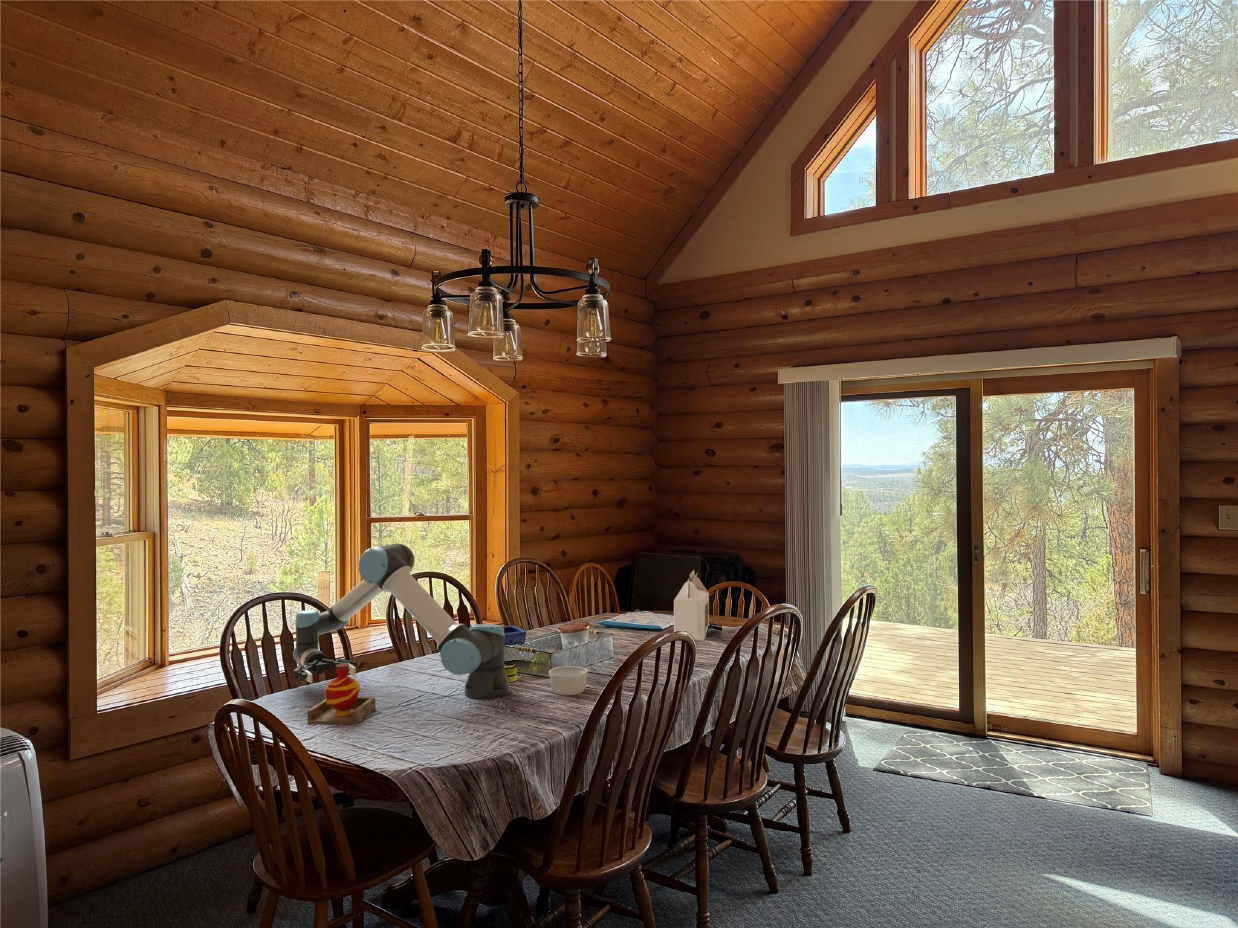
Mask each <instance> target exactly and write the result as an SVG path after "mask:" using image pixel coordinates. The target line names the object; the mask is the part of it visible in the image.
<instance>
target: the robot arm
mask: <svg viewBox="0 0 1238 928" xmlns="http://www.w3.org/2000/svg"><path fill="white" fill-rule="evenodd" d="M414 565H415V555H414V552H413V551H412V550H411V549H410V547H408V546H407V545H405V544H403V543H391V544H386V545H381V546H379V545H378V546H377V545H376V546H373V547H370V548H368V549H365V551H364V552H363V553H362V554H361V556H360V558H359V561H358V573H359V575H360V578H361V579H362V580H361V581H360V582H359V583H358V584H356V585H355V586H354V587H353V588H352V589H351V590H350V591H348V592H347V593H346V594H345V595H344V596H343V597H341V598H340V599H339V600H338V601H337V602H335V603H334V604H333V605H332V606H331V607H329V608H328V609H327V610H325V611H322V612H319V611H318V610H316V609H305V610H300V611H298V612H297V613H296V615H295V625H294V626H295V648H294V649H293V651H292V657H293V659H294V661H295V663H296V664H297V666H296V668H295V669H294V670H293V679H294V680H296V679H298V678H299V680H300V682H303V681H305V680H306V681H307V682H308V683H309V684H313V676H319V675H322V674H324V673H325V672H333V671H334V672H335V671H336V669H337V668H336V665H337V664H344V663H347V664H349V667H348V668H349V669H350V671H349V672H347V674H350V675H351V676H353V677H356V676H357V674H356V673H357V670H358V661H355V660H354V661H353V660H346V659H342V658H339V657H337V658H336V660H334V659H329V657H328V656H327V654H325V653H324V652H322V651H321V650H320V649H319V648H320V636H321V635H324V634H327V633H331V632H334V631H340V630H341V629H343V628H345V627H346V626H347V625H348V623H349V620H350V619H351V618H352V617H354V616H355V615H356V614H357V613H358V612H360V611H361V610H362V609H364V607H366V605H368V604H369V603H370V602H371V601H373V600H374V599H375V598H376V597H377V596H378V595H380V594H381V593H382V592H383V593H390V594H391V595H393V597H394V598H395V599H396V600H397V601H398V602H399V603H400V604H401V605H402V606H403V607H404V608H405V609H406V611H407V612H408V613H409V614H410V615H411V616H412V617H413V619H415V620H416V621H417V622H418V623H419V624H420V625H421V627H422V628H424V631H426V632H427V633H428V634H429V635H430V636H431V637H432V639H433V640H434V641H435V642H436V645H437V646H436V650H437V651H438V652H439V653H440V654H439V656H440V662H441V665H442V666H443V667H444V668H445V669H444V670H446V671H447V672H449V673H451V674H453V675H458V676H462V675H466V674H468V675H467V678H466V681H465V684H464V695H465V696H466V697H468V698H473V699H480V700H484V699H496V698H500V697H505V696H507V695H508V694H509V693H510V691H511V690H510V689H511V688H510V687H511V686H510V683H509V680H508V676H507V673H506V670H505V662H504V638H505V635H504V628H503V627H504V626H502V625H500V624H499V625H498V624H488V623H477V624H471V625H469V628H468V627H467V626H466V624H465V623H457V622H456V621H455V620H454V619H453V618H452V617H451V616H450V614H449V613H448V612H447V611H446V610H445V609H444V608H443V607H442V606H441V605H440V604H439V603H438V602H437V601H436V600H435V599H434V598H433V597H432V596H431V595H430V594H429V592H428V591H427V590H426V589H425V588H424V587H423V586H422V585H421V583H419V582H418V581H417V580H416V578H415V577H413V575H412V574H411V572H412V570H413V568H414Z"/></svg>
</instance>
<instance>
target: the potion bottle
mask: <svg viewBox="0 0 1238 928" xmlns="http://www.w3.org/2000/svg"><path fill="white" fill-rule="evenodd" d="M348 667H349V664H347V663H344V664H337V665H336V668H337V669H336V670H334V672H335V673H336V674H337V677H335V678H334V679H332V680H331V681H330V682H329V683H328V685H327V686H326V688H325V699H326V703H327V704H329V705H330V706H331V707H332V708H333V709H335V710H336V712H335V714H334V715H336V716H346V715H349V714H351V711H350V708H351V707H352V706H353V705H354V703H355V702H356V700H357V698H358V697H359V694H360V692H361V688H360V684H359V682H358V681H357V679H356V678H352V677H350V675H348V672H349V671H350V669H349V668H348Z"/></svg>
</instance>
